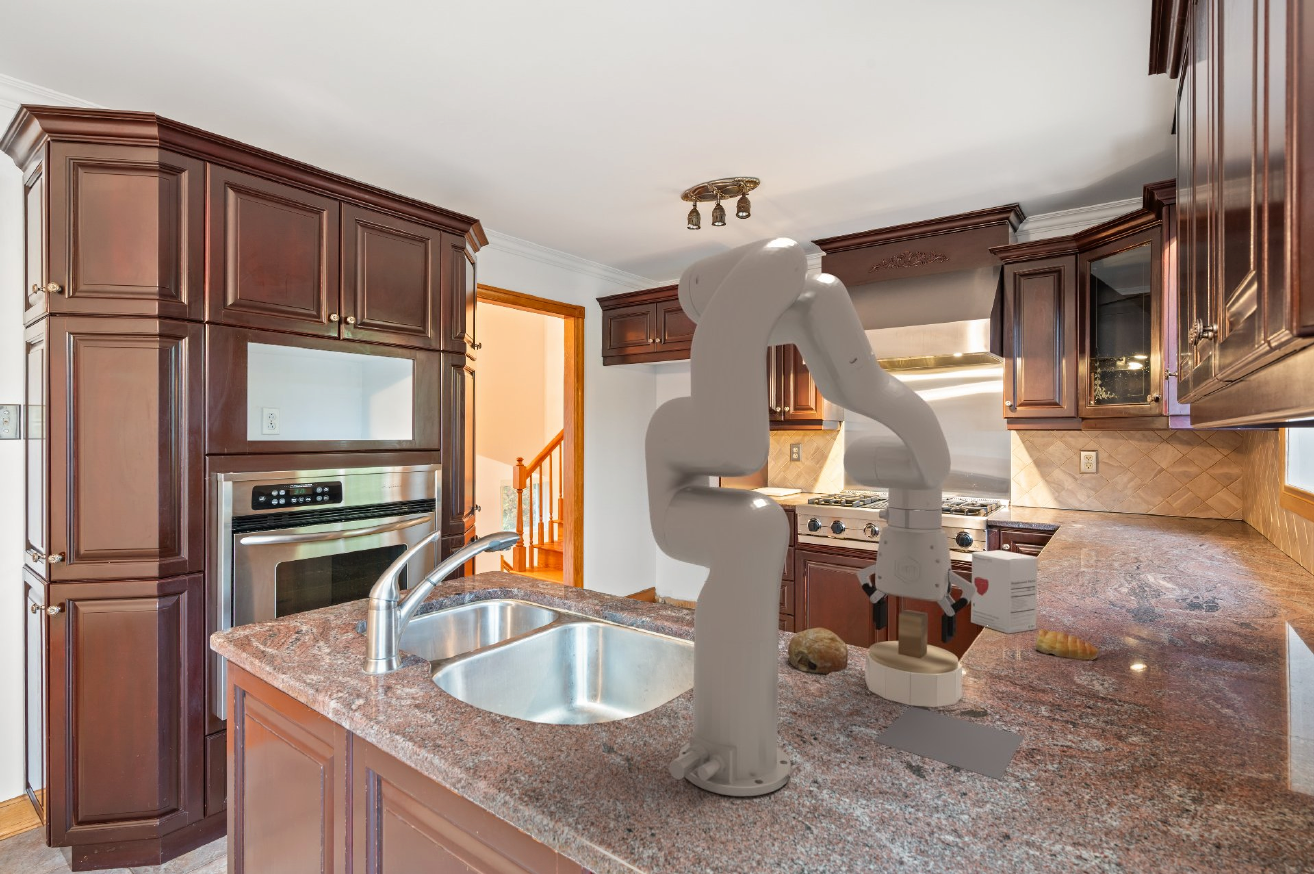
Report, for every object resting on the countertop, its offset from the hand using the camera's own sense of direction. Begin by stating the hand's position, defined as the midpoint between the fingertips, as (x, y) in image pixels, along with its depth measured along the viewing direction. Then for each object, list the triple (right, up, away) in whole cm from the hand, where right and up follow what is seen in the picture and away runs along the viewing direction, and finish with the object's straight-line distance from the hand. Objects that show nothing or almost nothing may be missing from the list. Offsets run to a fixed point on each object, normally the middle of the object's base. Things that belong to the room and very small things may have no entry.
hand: (912, 634), depth 98 cm
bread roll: (-11, -9, +12) cm, 19 cm away
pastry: (+35, -10, +21) cm, 42 cm away
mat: (-2, -8, -17) cm, 19 cm away
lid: (0, -4, 0) cm, 4 cm away
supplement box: (+33, -10, +37) cm, 51 cm away
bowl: (0, -9, 0) cm, 9 cm away
